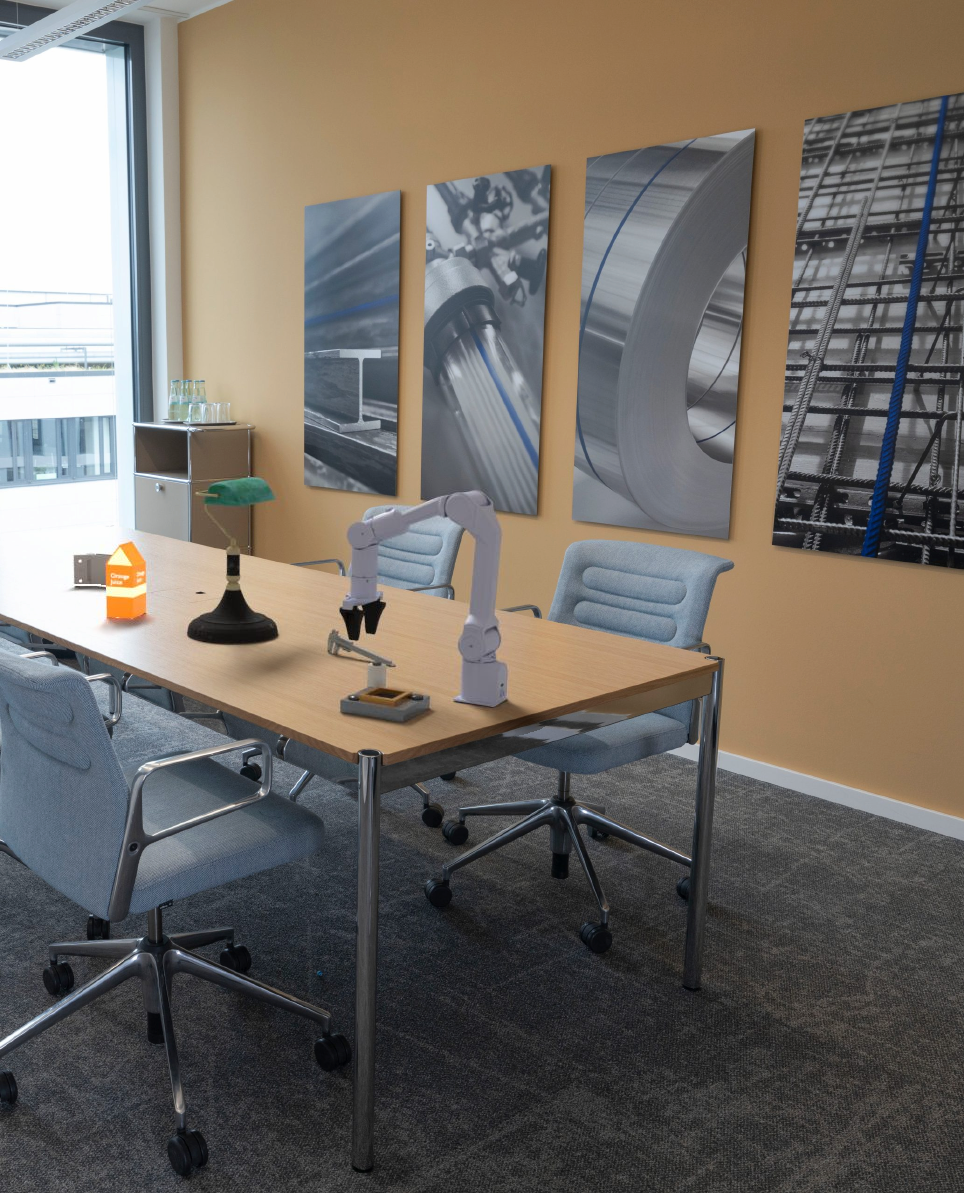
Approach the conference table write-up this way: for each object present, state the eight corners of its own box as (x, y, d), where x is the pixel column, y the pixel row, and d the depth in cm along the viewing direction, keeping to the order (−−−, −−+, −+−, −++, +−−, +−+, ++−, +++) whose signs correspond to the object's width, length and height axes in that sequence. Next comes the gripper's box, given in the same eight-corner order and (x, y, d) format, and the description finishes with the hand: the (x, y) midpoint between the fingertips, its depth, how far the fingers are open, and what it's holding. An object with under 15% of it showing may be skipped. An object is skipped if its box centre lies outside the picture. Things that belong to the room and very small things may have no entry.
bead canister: (388, 691, 235) (389, 661, 233) (380, 695, 231) (380, 665, 230) (372, 688, 236) (373, 659, 235) (363, 692, 233) (364, 662, 231)
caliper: (327, 654, 267) (327, 628, 266) (330, 653, 268) (330, 628, 267) (393, 667, 256) (393, 641, 255) (396, 667, 257) (396, 641, 256)
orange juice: (146, 613, 303) (146, 541, 299) (133, 619, 294) (132, 545, 291) (119, 611, 304) (118, 540, 300) (105, 617, 295) (104, 544, 292)
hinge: (73, 587, 336) (72, 555, 335) (78, 584, 342) (77, 552, 340) (119, 588, 338) (118, 556, 336) (123, 585, 343) (123, 554, 341)
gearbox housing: (429, 707, 223) (430, 691, 223) (402, 722, 212) (403, 705, 212) (369, 698, 229) (369, 681, 228) (340, 711, 218) (340, 695, 217)
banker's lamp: (254, 648, 268) (255, 485, 260) (167, 640, 272) (166, 479, 265) (293, 627, 293) (296, 478, 286) (213, 620, 298) (214, 473, 290)
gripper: (364, 569, 245) (362, 628, 248) (330, 578, 232) (329, 640, 235) (391, 573, 243) (390, 632, 245) (359, 581, 230) (358, 644, 232)
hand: (362, 636), depth 240 cm, fingers open, 7 cm apart
